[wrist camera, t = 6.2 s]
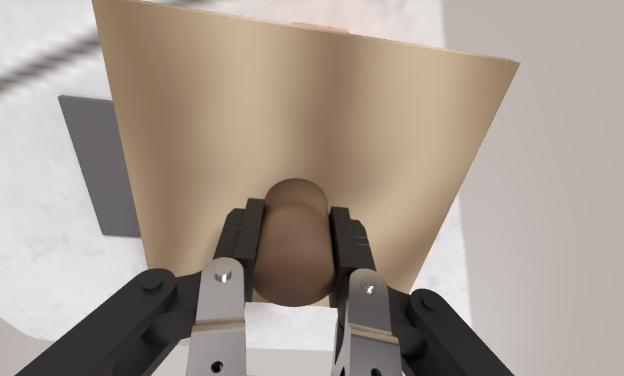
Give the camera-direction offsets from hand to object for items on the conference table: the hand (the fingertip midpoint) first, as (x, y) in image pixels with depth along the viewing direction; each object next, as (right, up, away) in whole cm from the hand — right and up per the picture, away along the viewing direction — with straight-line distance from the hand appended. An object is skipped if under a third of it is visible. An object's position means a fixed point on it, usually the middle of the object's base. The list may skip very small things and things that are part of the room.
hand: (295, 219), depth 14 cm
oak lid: (0, +1, +2) cm, 2 cm away
